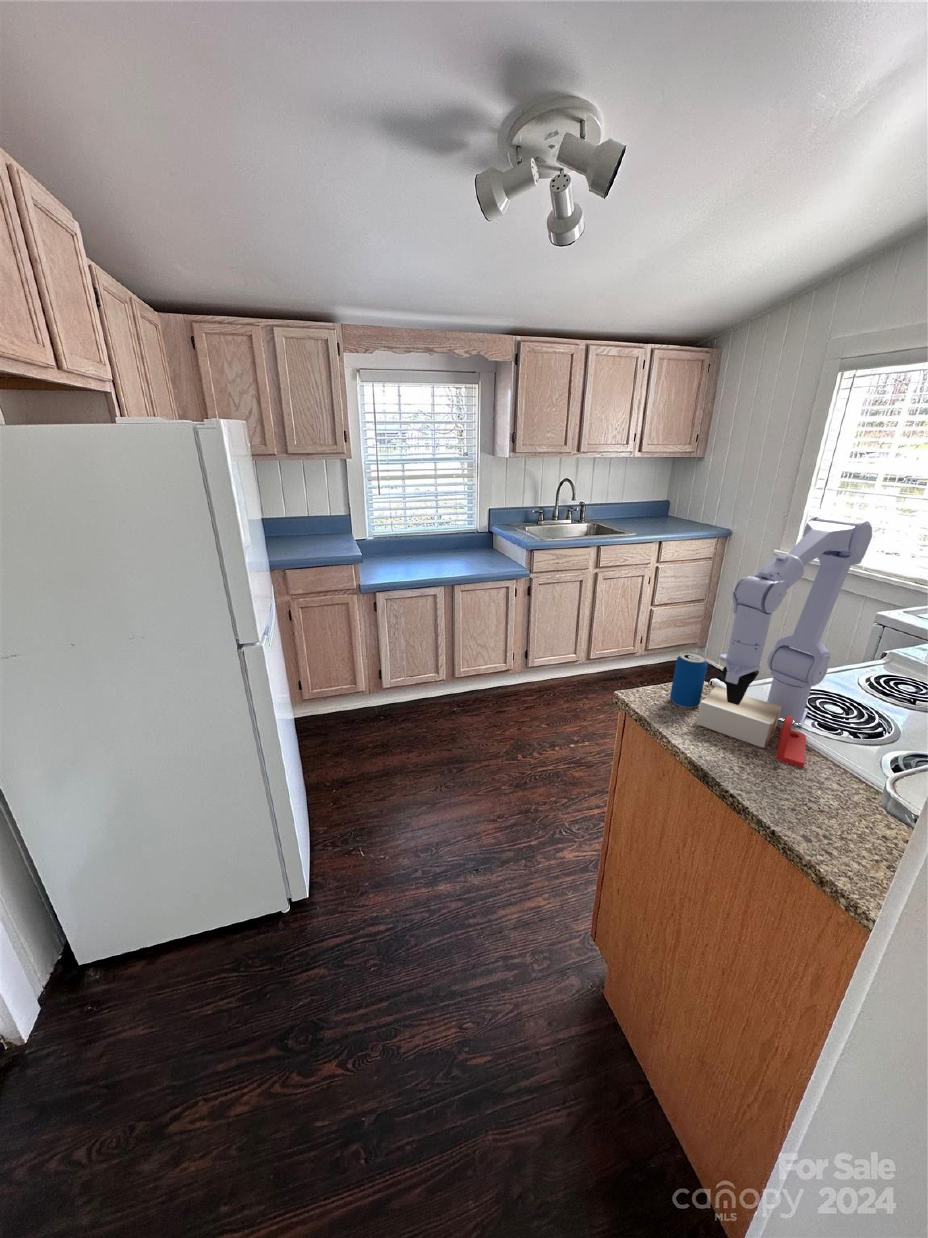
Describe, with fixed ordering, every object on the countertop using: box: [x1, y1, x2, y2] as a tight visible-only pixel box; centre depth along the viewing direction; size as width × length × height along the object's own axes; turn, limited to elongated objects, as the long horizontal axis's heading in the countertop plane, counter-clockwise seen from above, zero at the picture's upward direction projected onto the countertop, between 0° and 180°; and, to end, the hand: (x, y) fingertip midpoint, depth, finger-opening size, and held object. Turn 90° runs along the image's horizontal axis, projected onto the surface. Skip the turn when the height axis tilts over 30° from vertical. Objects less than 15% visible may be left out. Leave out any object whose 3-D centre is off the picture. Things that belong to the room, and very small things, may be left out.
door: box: [696, 699, 771, 749], centre depth 102 cm, size 1×13×6 cm, turn 48°
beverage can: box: [669, 651, 708, 709], centre depth 113 cm, size 6×6×12 cm
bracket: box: [775, 715, 807, 769], centre depth 98 cm, size 12×4×8 cm, turn 145°
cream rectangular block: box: [703, 686, 782, 748], centre depth 105 cm, size 9×13×6 cm
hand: (733, 702), depth 98 cm, fingers closed
